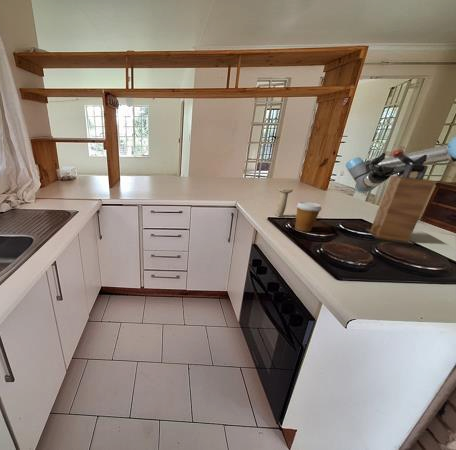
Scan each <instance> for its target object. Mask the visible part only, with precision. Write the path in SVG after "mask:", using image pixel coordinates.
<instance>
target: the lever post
mask: <svg viewBox="0 0 456 450" xmlns="http://www.w3.org/2000/svg"><path fill="white" fill-rule="evenodd" d="M413 166H414V165H407V166H406V169H405V171H404V174H403V175H402V176H397V175H391V176H390V177H389V181H388V183H387V186H386V189H385V191H384V193H383V197H382V199H381V202H380V204H379V206H378V209H377V212H376V214H375V217H374V219H373V222H372V225H371V227H370V228H365V231H366V232H367V233H368V234H369V235H371V236H372V237H373V238H374V239H376V240H381V241H388V242H394V243H401V244H407V245H413V246H414V245H415V242H413V241H412V240H410V239H411V236H412V235H413V232H414V230H415V228H416V226H417V223H418V221H419V219H420V217H421V214H422V212H423V210H424V208H425V206H426V203H427V201H428V198H429V196H430V194H431V192H432V190H433V188H434V185H435V183H436V180H432V179H427V178H425V175H426V173H427V171H428V168H429V165H423V169H422V171H421V172H417V175H416V176H415V177H412V176H411V177H410V175H411V173H412V172H411V171H412V168H413Z"/></svg>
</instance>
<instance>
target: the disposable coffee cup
mask: <svg viewBox="0 0 456 450" xmlns="http://www.w3.org/2000/svg"><path fill="white" fill-rule="evenodd" d="M321 210H322V204H318V203H315V202H309V201H298V203H297V204H296V216H295V225H294V229H295V230H297V231H301V232H307V233H308V232H311V231H312V228H313V226H314V225H315V222H316V220H317V218H318V216H319V213H320V211H321Z"/></svg>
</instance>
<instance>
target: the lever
mask: <svg viewBox="0 0 456 450" xmlns="http://www.w3.org/2000/svg"><path fill="white" fill-rule="evenodd" d="M405 154H406V153H405V151H404V150H403V149H395V150H394V151H393V152H392V154H391V155H392V157H395V158H398V159H400V160H401V161H402V162H403V163H404V164H406V165H414V166H413V168H412V172H411V173H418V172H421V171H422V169H423V166H424V165H421V164H417V163H416V162H414V161H413V160H412V159H410V158H409V157H408V156H406V155H405Z"/></svg>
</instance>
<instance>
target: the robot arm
mask: <svg viewBox="0 0 456 450" xmlns="http://www.w3.org/2000/svg"><path fill="white" fill-rule="evenodd" d="M404 154H405V155H406V156H408V157H409V158H410V159H412V160H413V161H414V162H416V163H417V164H421V165H423V166H427V165H431V164H437V163H442V162H447V161H448V162H449V161H450V162H451V163H454V162H456V136H454V137H453V138H451V140H450V141H449V143H447V144H443V145H439V146H433V147H430V148H425V149H421V150H417V151H412V152H408V153H404ZM406 166H407V165H406V164H404V163H403V162H402V161H401V160H400V159H398V158H395V157H393V156H389V157H386V152H382V153H381V154H380V155H379V156H378V157H375V158H373V159H371V160H365V161H364V159H362V158H361V157H359V156H358V157H354V158H352V159H350V160H347V162H346V163H345V167H346V169H347V171H348V172H349V174H350V176H351V177H352V179H353V180H354V183H355V185H354V189H355V190H356V192H358V193H361V194H366V193H368V192H370V191H372V190H374V189H375V188H376V187H378V186H379V185H381V184H383V183H384V182H386V181H387V180H388V179H390V178H391V176H398V177H402V176H403V174H404V171H405V169H406ZM411 173H413V172H412V171H411Z"/></svg>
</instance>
